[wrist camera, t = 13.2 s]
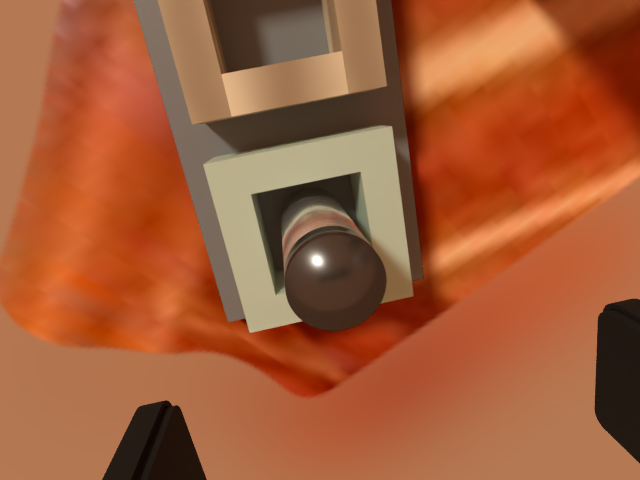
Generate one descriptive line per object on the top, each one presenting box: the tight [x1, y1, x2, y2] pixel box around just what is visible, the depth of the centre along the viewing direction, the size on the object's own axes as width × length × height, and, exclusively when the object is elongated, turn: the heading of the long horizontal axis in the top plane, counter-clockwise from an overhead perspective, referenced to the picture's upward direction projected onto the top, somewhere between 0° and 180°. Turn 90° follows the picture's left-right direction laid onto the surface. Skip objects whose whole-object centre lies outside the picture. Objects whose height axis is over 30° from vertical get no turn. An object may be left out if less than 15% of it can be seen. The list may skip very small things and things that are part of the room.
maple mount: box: [158, 0, 387, 125], centre depth 20 cm, size 10×10×4 cm
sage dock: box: [203, 125, 414, 333], centre depth 24 cm, size 10×10×4 cm
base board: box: [134, 0, 424, 322], centre depth 25 cm, size 14×24×2 cm, turn 11°
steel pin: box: [281, 187, 387, 331], centre depth 21 cm, size 4×4×11 cm
